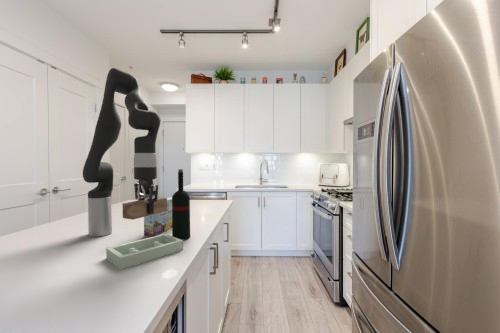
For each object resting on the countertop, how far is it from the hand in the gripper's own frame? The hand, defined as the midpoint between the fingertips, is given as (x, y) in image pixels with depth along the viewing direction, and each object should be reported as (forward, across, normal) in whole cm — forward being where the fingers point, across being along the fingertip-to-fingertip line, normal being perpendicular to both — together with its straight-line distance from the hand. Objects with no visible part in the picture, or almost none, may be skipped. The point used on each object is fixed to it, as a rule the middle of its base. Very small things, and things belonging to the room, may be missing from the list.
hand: (146, 212), depth 86 cm
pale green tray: (+15, 0, 0) cm, 15 cm away
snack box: (+15, +24, -19) cm, 34 cm away
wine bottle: (+15, +8, -19) cm, 26 cm away
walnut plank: (+1, 0, 0) cm, 1 cm away
